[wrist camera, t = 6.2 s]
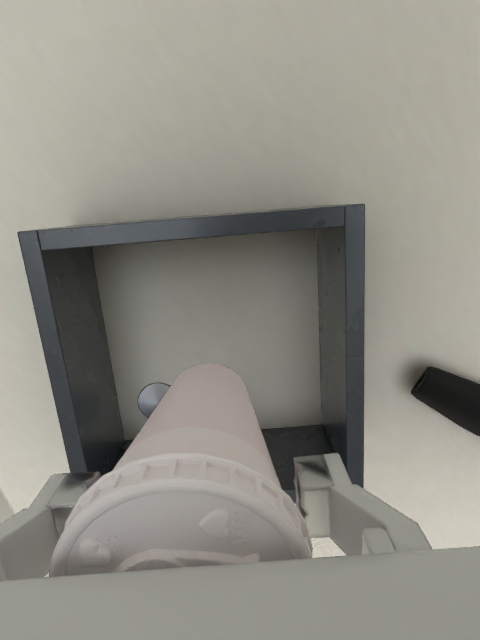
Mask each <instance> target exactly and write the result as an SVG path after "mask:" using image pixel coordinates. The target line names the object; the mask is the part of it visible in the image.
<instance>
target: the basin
mask: <svg viewBox="0 0 480 640" xmlns="http://www.w3.org/2000/svg"><path fill="white" fill-rule="evenodd" d="M306 229H317V263H318V301H319V339H320V377H321V415H322V425H315V426H303V427H290V428H278V429H265V430H261V432H262V435H263V437H264V440H265V443H266V446H267V449H268V452H269V455H270V458H271V461H272V464H273V467H274V469H275V472H276V475H277V477H278V480H279V483H280V486H281V489H282V490H283V491H284V492H285V493H286V494H288V495H289V496H290V497H291V499H292V500H293V502H294V504H296V502H295V495H294V482H293V480H294V478H295V477H294V472H293V457H302V456H314V455H323V454H330V453H338V454H339V455H340V457H341V459H342V462H343V464H344V466H345V469H346V471H347V474H348V476H349V478H350V481H351V483H352V485H353V484H357V485H358V486H360V487H362V488H363V484H364V285H365V204H345V205H325V206H313V207H301V208H288V209H276V210H264V211H251V212H239V213H226V214H214V215H202V216H189V217H177V218H165V219H152V220H140V221H128V222H115V223H103V224H91V225H78V226H67V227H58V228H49V229H39V230H30V231H20V232H18V238H19V242H20V247H21V251H22V256H23V260H24V265H25V269H26V274H27V278H28V283H29V287H30V292H31V296H32V301H33V305H34V310H35V314H36V319H37V323H38V328H39V333H40V337H41V342H42V346H43V351H44V355H45V360H46V364H47V369H48V373H49V378H50V382H51V387H52V391H53V396H54V400H55V405H56V409H57V414H58V418H59V423H60V427H61V432H62V436H63V441H64V445H65V450H66V454H67V459H68V463H69V468H70V472H71V473H79V472H100V473H101V475H102V476H103V475H105V474H107V473H109V472H111V471H113V469H114V467H115V466H116V464H117V463H118V462H119V460H120V459H121V458H122V456H123V455H124V454H125V452H126V451H127V449H128V448H129V446H130V445H131V443H132V442H133V440H127V441H124V435H123V430H122V424H121V418H120V413H119V407H118V401H117V396H116V390H115V384H114V378H113V373H112V367H111V361H110V356H109V350H108V344H107V339H106V333H105V327H104V321H103V316H102V310H101V304H100V299H99V293H98V287H97V282H96V276H95V270H94V264H93V259H92V253H91V247H95V246H108V245H120V244H132V243H145V242H157V241H169V240H182V239H194V238H207V237H219V236H231V235H244V234H256V233H269V232H281V231H293V230H306ZM169 388H170V386H169V385H166V384H163V383H153V384H150V385H148V386H146V387H145V388H144V389H143V390H142V391H141V393H140V394H139V397H138V406H139V409H140V410H141V412H142V413H143V414H144V415H145V416H146V417H148V418H149V417H150V416H151V414H152V413H153V411H154V410H155V408H156V407H157V405H158V404H159V402H160V401H161V400H162V398H163V397H164V395H165V394H166V392H167V391H168V389H169Z"/></svg>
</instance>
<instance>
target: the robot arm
mask: <svg viewBox="0 0 480 640" xmlns="http://www.w3.org/2000/svg"><path fill="white" fill-rule="evenodd" d="M293 472H294V477H295V478H294V480H293V482H294V495H295V502H296V507H297V508H298V510H299V512H300V513H301V515H302V516H303V518H304V520H305V521H306V524H307V528H308V532H309V536H310V538H322V537H331V539H332V540H333V541H334V542H335V543H336V544H337V545H338V547H339V548H340V549H341V550H342V551H343V552H344V553H345V554H346V555H347V556H335V557H321V558H307V559H293V560H279V561H265V562H252V563H238V564H224V565H210V566H196V567H182V568H168V569H154V570H140V571H127V572H113V573H99V574H85V575H71V576H57V577H44V576H45V575H46V574H47V573H48V572H49V569H50V563H51V558H52V555H53V552H54V549H55V547H56V544H57V542H58V540H59V538H60V536H61V534H62V533H63V531H64V528H65V523H66V520H67V518H68V517H69V515H70V513H71V511H72V510H73V508H74V506H75V505H76V503H77V501H78V499H79V498H80V496H81V495H82V494H83V493H84V492H86V491H87V490H88V489H89V488H90V487H91V486H92V485H93V484H94V483H95V482H96V481H97V480H99V479H100V478H101V477H102V475H101V473H100V472H79V473H62V474H54V475H52V476H50V478H49V479H48V481H47V482H46V484H45V485H44V487H43V488H42V490H41V491H40V492H39V494H38V495H37V497H36V498H35V500H34V501H33V503H32V504H31V506H30V507H29V508H28V509H23V510H21V511H20V512H18V513H17V514H15V515H13V516H12V517H10V518H9V519H7V520H6V521H4V522H2V523H1V524H0V640H480V546H475V547H461V548H448V549H434V550H433V549H432V547H431V546H430V544H429V542H428V540H427V539H426V537H425V535H424V533H423V532H422V530H421V528H420V526H419V525H418V523H416V522H415V521H413V520H411V519H410V518H408V517H407V516H405V515H404V514H402V513H401V512H399V511H397V510H396V509H394V508H393V507H391V506H390V505H388V504H387V503H385V502H383V501H382V500H380V499H379V498H377V497H376V496H374V495H372V494H371V493H369V492H368V491H366V490H365V489H363V488H362V487H360V486H358V485H357V484H353V485H352V483H351V481H350V478H349V476H348V474H347V471H346V469H345V466H344V464H343V462H342V459H341V457H340V455H339V454H338V453H330V454H323V455H314V456H302V457H293Z"/></svg>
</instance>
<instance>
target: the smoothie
mask: <svg viewBox="0 0 480 640" xmlns="http://www.w3.org/2000/svg"><path fill="white" fill-rule="evenodd" d="M312 549H313V548H312V544H311V540H310V536H309V532H308V528H307V524H306V521H305V520H304V518H303V516H302V515H301V513H300V512H299V510H298V508H297V507H296V505H295V504H294V502H293V500H292V499H291V497H290V496H289V495H288V494H286V493H285V492H284V491H283V490H282V489H281V486H280V483H279V480H278V477H277V475H276V472H275V469H274V467H273V464H272V461H271V458H270V455H269V452H268V449H267V446H266V443H265V440H264V437H263V435H262V432H261V429H260V426H259V423H258V420H257V417H256V414H255V411H254V408H253V406H252V403H251V400H250V397H249V394H248V391H247V388H246V386H245V384H244V382H243V380H242V379H241V378H240V377H239V376H238V375H237V374H236V373H235V372H234V371H232V370H231V369H229V368H227V367H225V366H223V365H219V364H214V363H203V364H197V365H194V366H192V367H189V368H187V369H186V370H184V371H183V372H182V373H181V374H180V375H179V376H178V377H177V378H176V379H175V381H174V382H173V384H172V385H171V386H170V388H169V389H168V391H167V392H166V394H165V395H164V397H163V398H162V400H161V401H160V402H159V404H158V405H157V407H156V408H155V410H154V411H153V413H152V414H151V416H150V417H149V419H148V420H147V421H146V423H145V424H144V426H143V427H142V429H141V430H140V432H139V433H138V435H137V436H136V437H135V439H134V440H133V442H132V443H131V445H130V446H129V448H128V449H127V451H126V452H125V454H124V455H123V456H122V458H121V459H120V460H119V462H118V463H117V464H116V466H115V467H114V469H113V471H111V472H109V473H107V474H105V475H103V476H102V477H101V478H100V479H99V480H97V481H96V482H95V483H94V484H93V485H92V486H91V487H90V488H89V489H88V490H87V491H86V492H84V493H83V494H82V495H81V496H80V498H79V499H78V501H77V503H76V505H75V506H74V508H73V510H72V511H71V513H70V515H69V517H68V518H67V520H66V523H65V528H64V531H63V533H62V534H61V536H60V538H59V540H58V542H57V544H56V547H55V549H54V552H53V555H52V558H51V563H50V569H49V577H57V576H71V575H85V574H99V573H113V572H127V571H140V570H154V569H168V568H182V567H196V566H210V565H224V564H238V563H252V562H265V561H279V560H293V559H307V558H312Z"/></svg>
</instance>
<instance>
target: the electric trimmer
mask: <svg viewBox="0 0 480 640" xmlns="http://www.w3.org/2000/svg"><path fill="white" fill-rule="evenodd" d="M411 394H412V395H414V396H415V397H416V398H417V399H419V400H420V401H422V402H423V403H425V404H426V405H428V406H430V407H431V408H433V409H434V410H436V411H437V412H439V413H441V414H442V415H444V416H445V417H447V418H448V419H450V420H452V421H453V422H455V423H456V424H458V425H460V426H461V427H463V428H464V429H466V430H468V431H470V432H472V433H474V434H475V435H478V436H480V384H477V383H475V382H472V381H470V380H467V379H464V378H462V377H459V376H456V375H454V374H451V373H449V372H446V371H443V370H441V369H438V368H434V367H430V366H429V367H427V368H426V370H425V371H424V373H423V374H422V376H421V377H420V379H419V380H418V382H417V383H416V384H415V386H414V387H413V389H412V390H411Z"/></svg>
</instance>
